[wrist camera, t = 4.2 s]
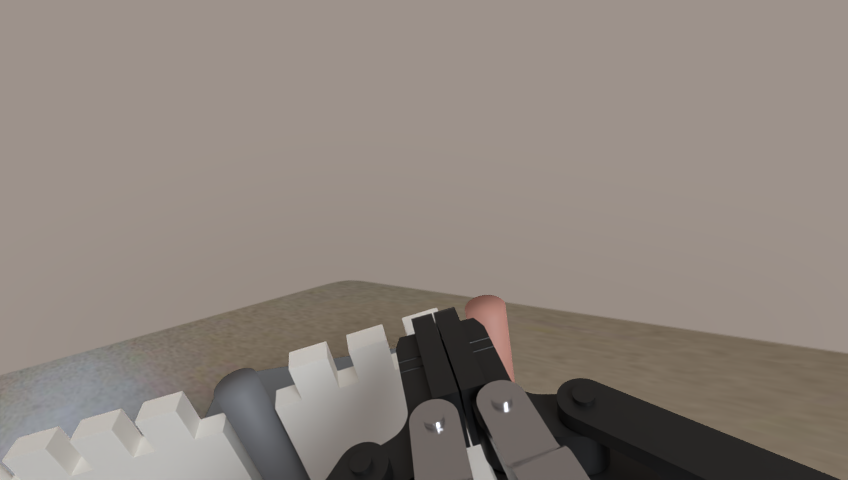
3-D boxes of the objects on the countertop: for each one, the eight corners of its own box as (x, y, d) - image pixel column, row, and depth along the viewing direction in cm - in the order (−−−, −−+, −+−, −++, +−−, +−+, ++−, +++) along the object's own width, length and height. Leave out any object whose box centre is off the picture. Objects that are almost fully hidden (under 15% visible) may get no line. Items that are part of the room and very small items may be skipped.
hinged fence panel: (343, 551, 27) (259, 384, 20) (341, 518, 28) (262, 355, 22) (531, 483, 28) (511, 306, 21) (518, 456, 30) (495, 284, 23)
